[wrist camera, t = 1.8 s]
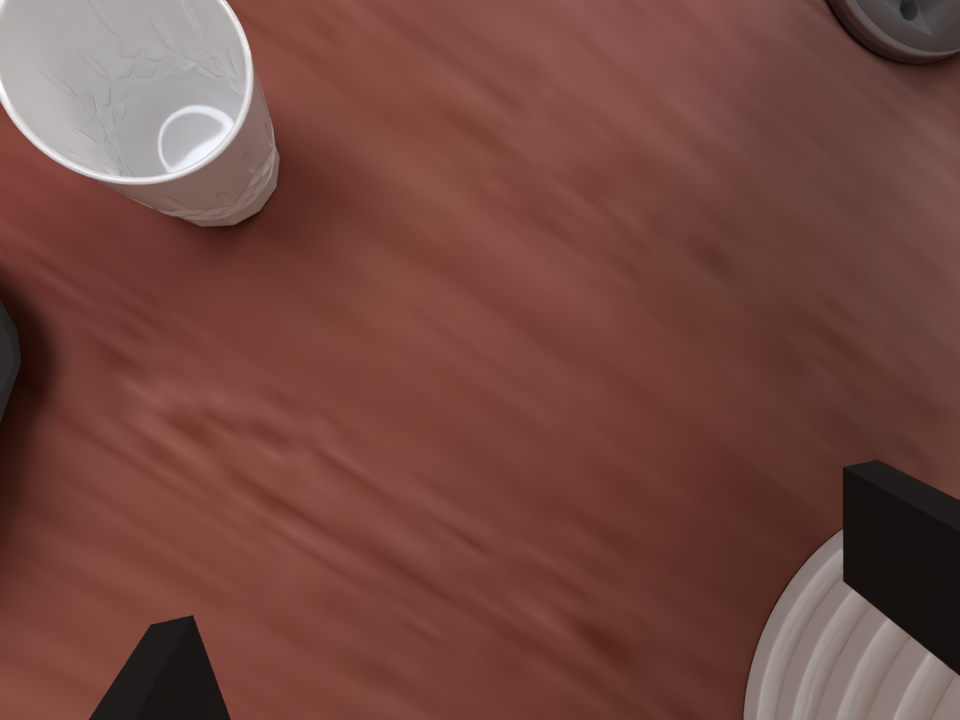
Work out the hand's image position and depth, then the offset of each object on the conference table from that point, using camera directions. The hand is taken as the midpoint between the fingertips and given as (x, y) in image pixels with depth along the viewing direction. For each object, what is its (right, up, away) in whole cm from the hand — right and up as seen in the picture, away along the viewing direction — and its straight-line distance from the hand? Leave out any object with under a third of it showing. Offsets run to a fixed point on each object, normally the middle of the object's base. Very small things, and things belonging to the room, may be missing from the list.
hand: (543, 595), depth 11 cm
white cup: (-15, +15, +17) cm, 27 cm away
